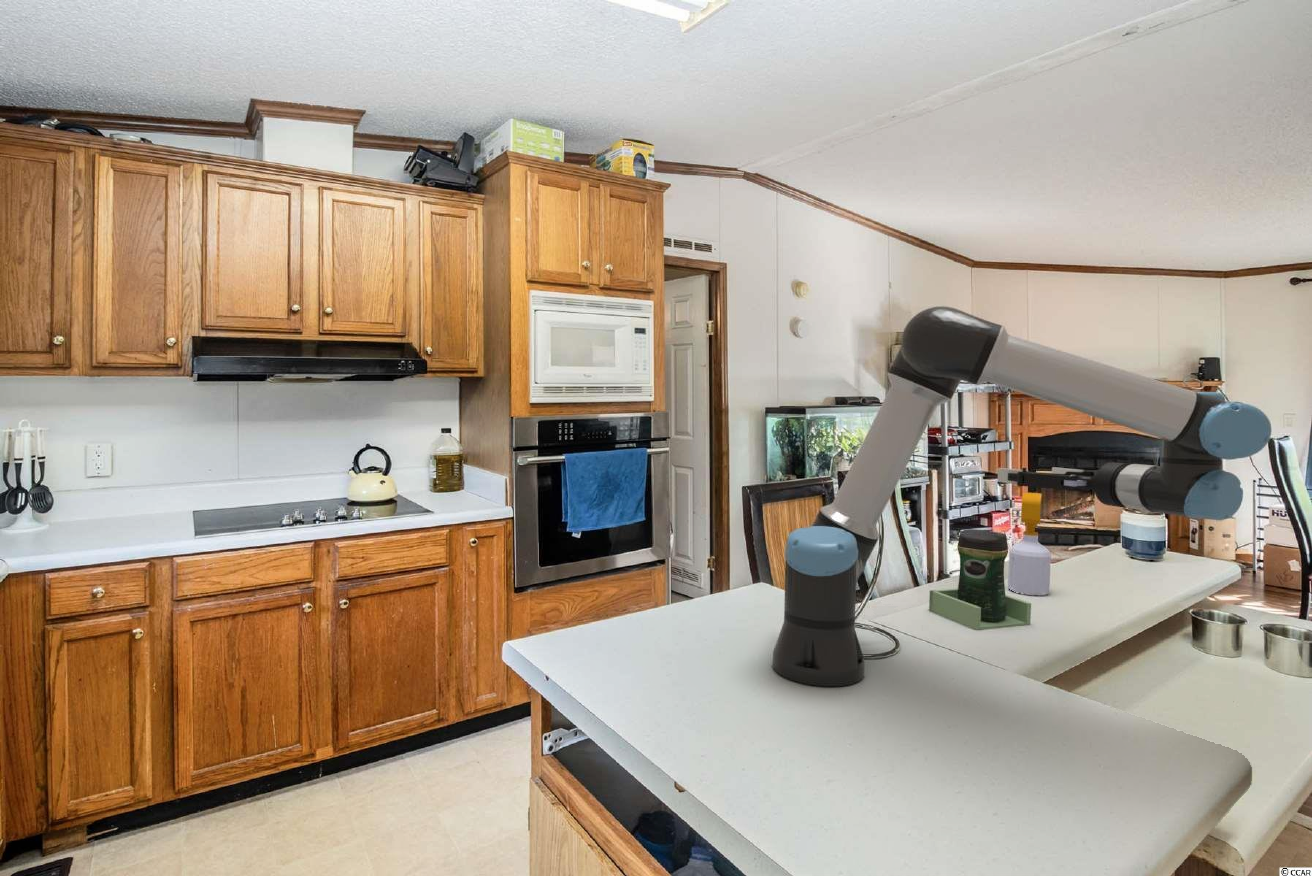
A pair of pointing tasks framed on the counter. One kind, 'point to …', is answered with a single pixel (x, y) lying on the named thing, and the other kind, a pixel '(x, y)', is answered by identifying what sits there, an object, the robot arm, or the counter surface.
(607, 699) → the counter surface
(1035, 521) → the soap bottle
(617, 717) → the counter surface
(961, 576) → the coffee jar
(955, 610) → the green tray
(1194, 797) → the counter surface
